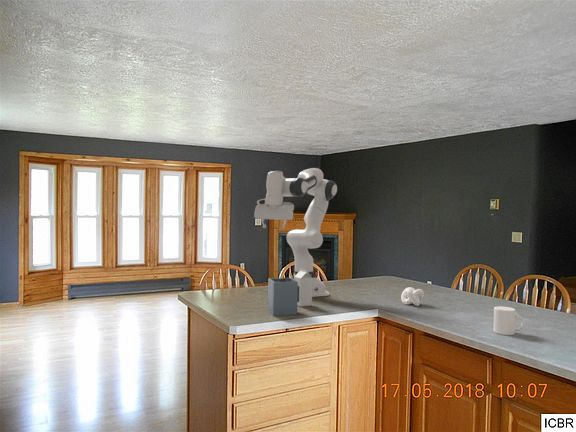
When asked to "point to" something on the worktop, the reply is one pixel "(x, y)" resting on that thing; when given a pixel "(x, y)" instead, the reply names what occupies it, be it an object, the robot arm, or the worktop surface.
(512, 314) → the mug
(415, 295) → the white knot
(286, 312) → the dark grey upright box
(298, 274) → the milk carton
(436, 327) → the worktop surface
